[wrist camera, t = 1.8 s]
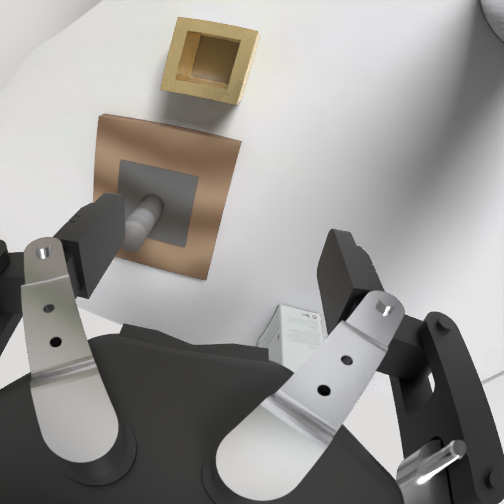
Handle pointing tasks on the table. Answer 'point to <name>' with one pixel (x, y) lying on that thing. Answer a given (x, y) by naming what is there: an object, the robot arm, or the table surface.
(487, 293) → the table surface
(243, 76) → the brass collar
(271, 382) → the robot arm
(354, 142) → the table surface
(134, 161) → the post stand
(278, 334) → the skincare box
